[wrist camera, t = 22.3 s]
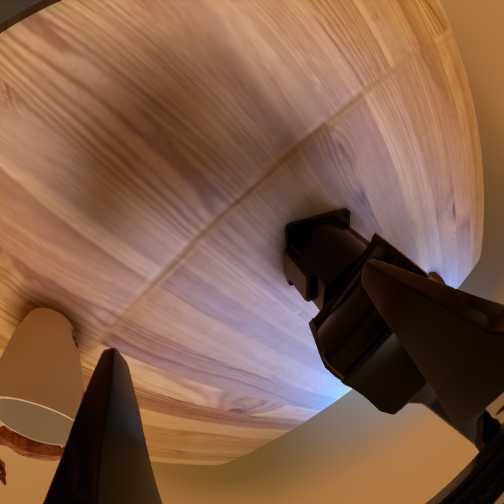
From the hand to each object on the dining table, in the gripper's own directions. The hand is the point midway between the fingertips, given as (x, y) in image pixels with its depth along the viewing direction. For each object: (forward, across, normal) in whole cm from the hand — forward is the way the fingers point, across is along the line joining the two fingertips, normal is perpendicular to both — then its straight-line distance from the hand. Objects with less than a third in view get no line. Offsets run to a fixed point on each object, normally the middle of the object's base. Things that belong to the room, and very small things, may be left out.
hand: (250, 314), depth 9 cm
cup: (+12, +16, +8) cm, 22 cm away
